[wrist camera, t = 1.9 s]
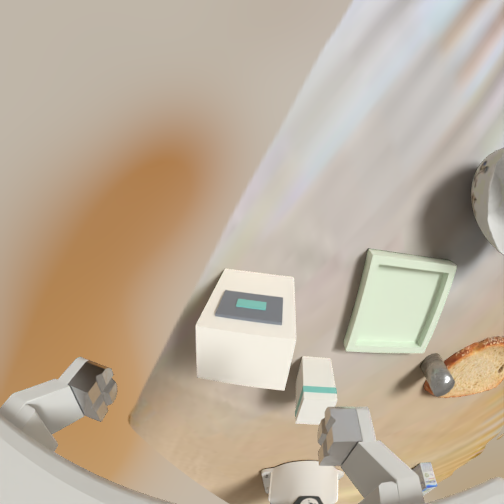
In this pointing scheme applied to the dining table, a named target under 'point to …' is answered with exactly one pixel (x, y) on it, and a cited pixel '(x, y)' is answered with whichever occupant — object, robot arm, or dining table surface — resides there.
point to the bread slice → (475, 368)
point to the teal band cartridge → (314, 390)
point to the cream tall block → (248, 330)
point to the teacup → (490, 198)
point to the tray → (398, 302)
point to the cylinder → (437, 375)
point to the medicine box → (425, 477)
